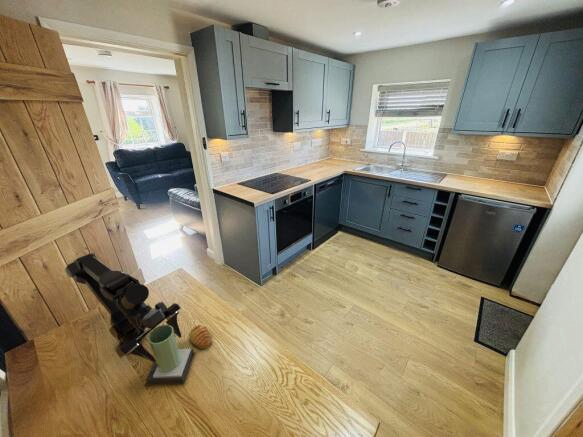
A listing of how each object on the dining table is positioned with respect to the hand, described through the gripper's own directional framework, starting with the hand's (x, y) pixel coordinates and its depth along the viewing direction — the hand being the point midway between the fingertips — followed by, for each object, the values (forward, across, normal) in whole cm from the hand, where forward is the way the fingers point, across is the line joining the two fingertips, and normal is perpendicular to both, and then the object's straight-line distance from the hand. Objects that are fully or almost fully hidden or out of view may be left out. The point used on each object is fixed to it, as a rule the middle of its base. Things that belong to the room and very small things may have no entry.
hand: (168, 348), depth 73 cm
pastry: (+7, +13, +8) cm, 17 cm away
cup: (+4, 0, +6) cm, 7 cm away
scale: (+6, 0, +8) cm, 10 cm away
